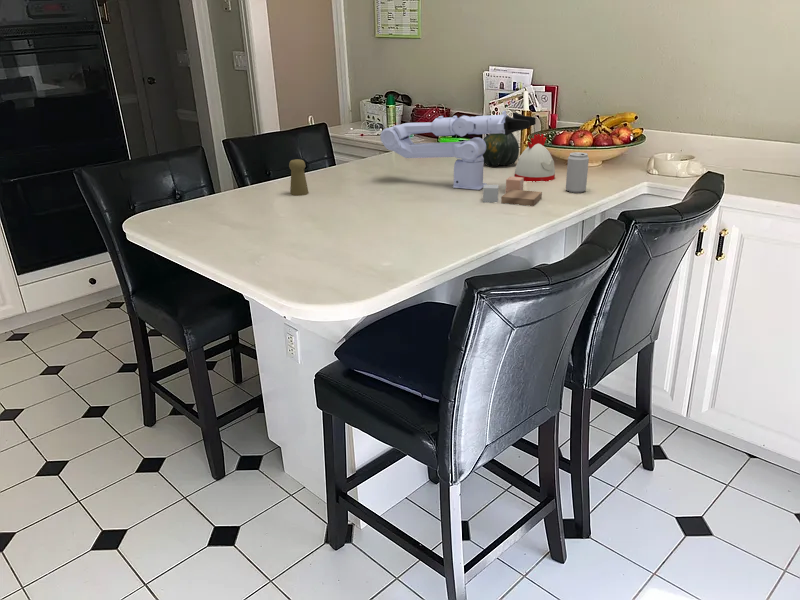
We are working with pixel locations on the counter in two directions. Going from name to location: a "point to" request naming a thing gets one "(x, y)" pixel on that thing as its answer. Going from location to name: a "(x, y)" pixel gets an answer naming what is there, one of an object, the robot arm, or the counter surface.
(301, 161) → the cork
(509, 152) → the squash
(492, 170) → the counter surface
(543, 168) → the kitchen timer
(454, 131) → the robot arm
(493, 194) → the grey cube
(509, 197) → the walnut plinth
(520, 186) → the terracotta cube
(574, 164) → the beverage can
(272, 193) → the counter surface
